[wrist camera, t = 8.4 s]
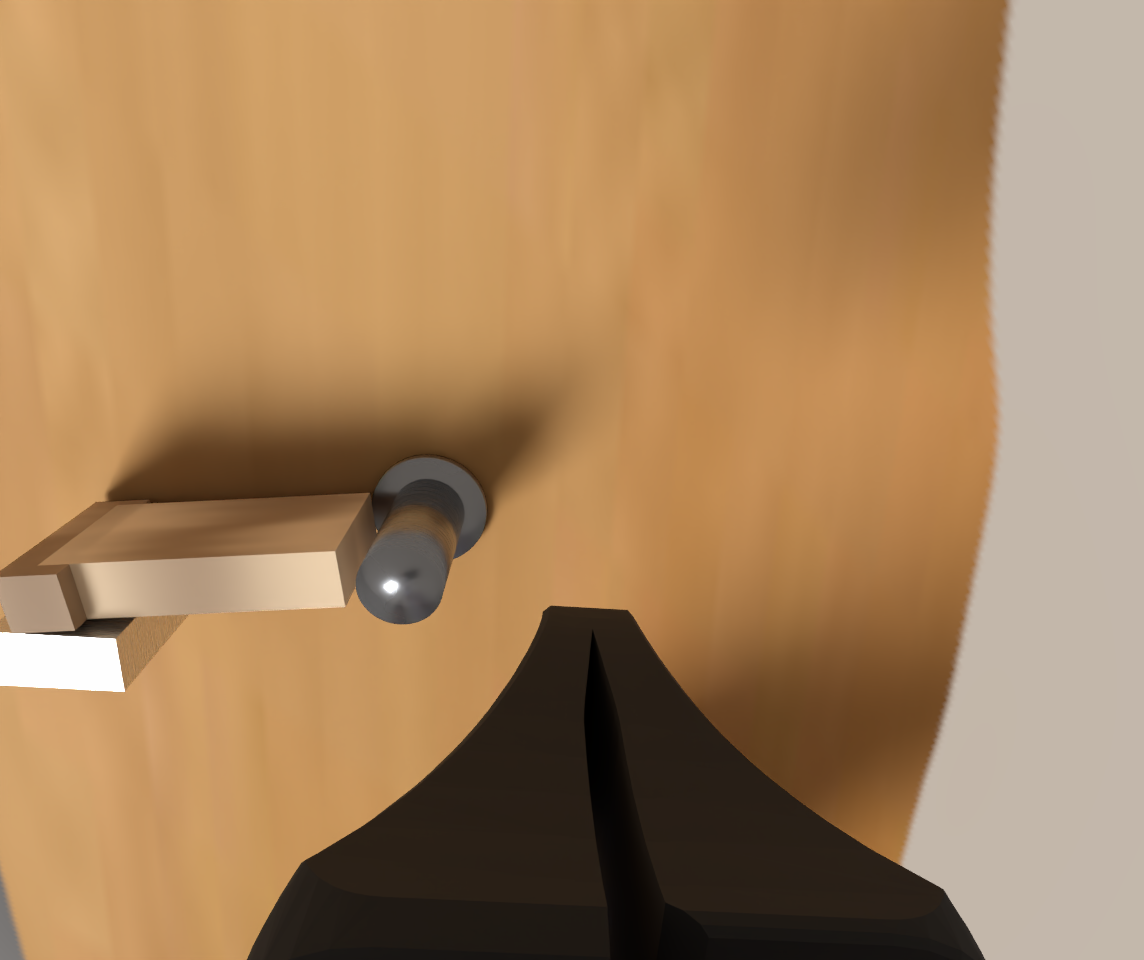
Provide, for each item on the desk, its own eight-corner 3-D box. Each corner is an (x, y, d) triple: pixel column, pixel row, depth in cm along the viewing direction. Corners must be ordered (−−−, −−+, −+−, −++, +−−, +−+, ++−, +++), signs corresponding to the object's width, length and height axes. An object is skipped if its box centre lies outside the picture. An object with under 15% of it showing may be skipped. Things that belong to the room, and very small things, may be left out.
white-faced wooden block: (203, 596, 23) (124, 691, 19) (100, 591, 23) (-2, 684, 19) (198, 551, 23) (115, 639, 18) (92, 545, 23) (-15, 631, 18)
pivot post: (485, 561, 23) (467, 649, 19) (375, 554, 23) (332, 641, 19) (488, 458, 22) (470, 528, 17) (372, 450, 22) (326, 519, 17)
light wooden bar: (372, 488, 22) (329, 561, 18) (380, 537, 22) (339, 618, 18) (96, 502, 22) (-9, 577, 18) (110, 550, 22) (11, 633, 18)
